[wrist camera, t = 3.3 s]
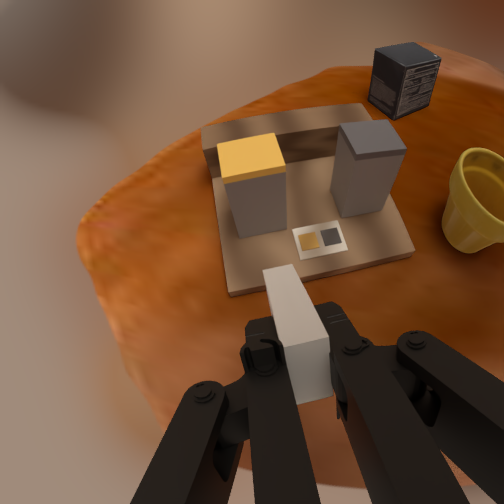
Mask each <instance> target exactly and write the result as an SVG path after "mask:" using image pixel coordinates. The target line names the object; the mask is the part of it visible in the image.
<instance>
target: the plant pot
mask: <svg viewBox="0 0 504 504" xmlns="http://www.w3.org/2000/svg"><path fill="white" fill-rule="evenodd" d="M449 189H450V194H449V198H448V201H447V204H446V207H445V210H444V213H443V216H442V229H443V232H444V235H445V237H446V239H447V240H448V242H449V243H450V244H451V245H452V246H453V247H454V248H456V249H457V250H459V251H461V252H464V253H475V252H477V251H479V250H481V249H483V248H485V247H487V246H490V245H492V244H494V243H496V242H498V243H503V242H504V158H503V157H501V156H500V155H498V154H496V153H495V152H493V151H490V150H488V149H484V148H470V149H468V150H466V151H464V152H463V153H462V155H461V156H460V158H459V159H458V161H457V163H456V165H455V167H454V169H453V171H452V173H451V176H450V181H449Z"/></svg>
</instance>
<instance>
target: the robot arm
mask: <svg viewBox="0 0 504 504" xmlns="http://www.w3.org/2000/svg"><path fill="white" fill-rule="evenodd" d="M263 275H264V280H265V285H266V290H267V295H268V300H269V305H270V310H271V315H272V316H270V317H265V318H260V319H255V320H250V321H249V322H248V324H247V325H246V327H245V336H246V343H245V344H244V345H243V346H242V348H241V350H240V357H241V360H242V363H243V367H244V370H245V374H244V375H243V376H242V377H241V378H240V379H239V380H237V381H235V382H233V383H231V384H229V385H226V386H224V387H223V386H222V385H221V384H220V383H218V382H215V381H202V382H200V383H197V384H194V385H193V386H191V387H190V388H189V389H188V390H187V391H186V392H185V394H184V396H183V398H182V400H181V402H180V404H179V406H178V408H177V410H176V412H175V414H174V416H173V418H172V420H171V422H170V424H169V426H168V428H167V430H166V432H165V434H164V436H163V438H162V440H161V442H160V444H159V447H158V448H157V450H156V452H155V455H154V457H153V458H152V461H151V462H150V464H149V466H148V469H147V471H146V473H145V475H144V477H143V479H142V481H141V483H140V485H139V487H138V489H137V491H136V493H135V495H134V497H133V499H132V501H131V503H130V504H227V503H228V500H229V496H230V493H231V489H232V486H233V482H234V478H235V475H236V471H237V467H238V464H239V460H240V456H241V452H242V448H243V445H244V441H245V440H247V439H250V446H251V459H252V472H253V484H254V497H255V504H321V502H320V498H319V494H318V490H317V486H316V482H315V477H314V473H313V469H312V465H311V461H310V457H309V453H308V449H307V445H306V441H305V436H304V432H303V428H302V424H301V420H300V416H299V412H298V408H297V405H298V404H302V403H306V402H311V401H315V400H319V399H323V398H327V397H330V396H333V389H334V392H335V394H336V406H337V419H339V418H340V416H341V419H342V421H343V424H344V427H345V430H346V432H347V435H348V438H349V440H350V443H351V446H352V449H353V451H354V454H355V457H356V460H357V462H358V465H359V468H360V471H361V473H362V476H363V479H364V482H365V485H366V487H367V490H368V493H369V496H370V499H371V502H372V504H470V503H469V501H468V499H467V497H466V496H465V494H464V492H463V490H462V488H461V486H460V485H459V483H458V481H457V479H456V477H455V476H454V474H453V472H452V470H451V468H450V467H449V465H448V463H447V461H446V460H445V458H444V456H443V455H442V453H441V451H442V452H443V453H444V454H445V455H446V456H447V457H448V458H449V459H450V460H451V461H453V462H454V463H455V464H456V465H457V466H458V467H459V468H460V469H461V470H462V471H463V472H464V473H465V474H466V475H467V476H468V477H469V478H470V479H471V480H473V481H474V482H475V483H476V484H477V485H478V486H479V487H480V488H481V489H482V490H483V491H484V492H485V493H486V494H487V495H488V496H490V497H491V498H492V499H493V500H494V501H495V502H496V503H497V504H504V382H502V381H501V380H499V379H498V378H496V377H495V376H493V375H492V374H490V373H489V372H487V371H486V370H484V369H483V368H481V367H480V366H478V365H477V364H475V363H474V362H472V361H471V360H469V359H468V358H466V357H465V356H463V355H462V354H460V353H459V352H457V351H455V350H454V349H452V348H451V347H449V346H448V345H446V344H445V343H443V342H442V341H440V340H439V339H437V338H435V337H434V336H432V335H431V334H429V333H427V332H424V331H417V330H416V331H409V332H406V333H404V334H402V335H401V336H400V337H399V338H398V341H397V345H390V346H375V345H373V343H372V342H371V341H370V340H369V339H367V338H364V337H361V336H359V334H358V333H357V331H356V329H355V328H354V326H353V325H352V323H351V322H350V320H349V319H348V317H347V316H346V314H345V313H344V311H343V310H342V308H341V307H340V306H339V305H337V304H335V303H334V302H328V303H323V304H319V305H315V306H313V304H312V302H311V300H310V298H309V296H308V294H307V292H306V290H305V288H304V286H303V284H302V282H301V280H300V278H299V276H298V274H297V272H296V270H295V269H294V267H293V265H292V264H289V265H284V266H279V267H275V268H270V269H265V270H263ZM440 450H441V451H440Z"/></svg>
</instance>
